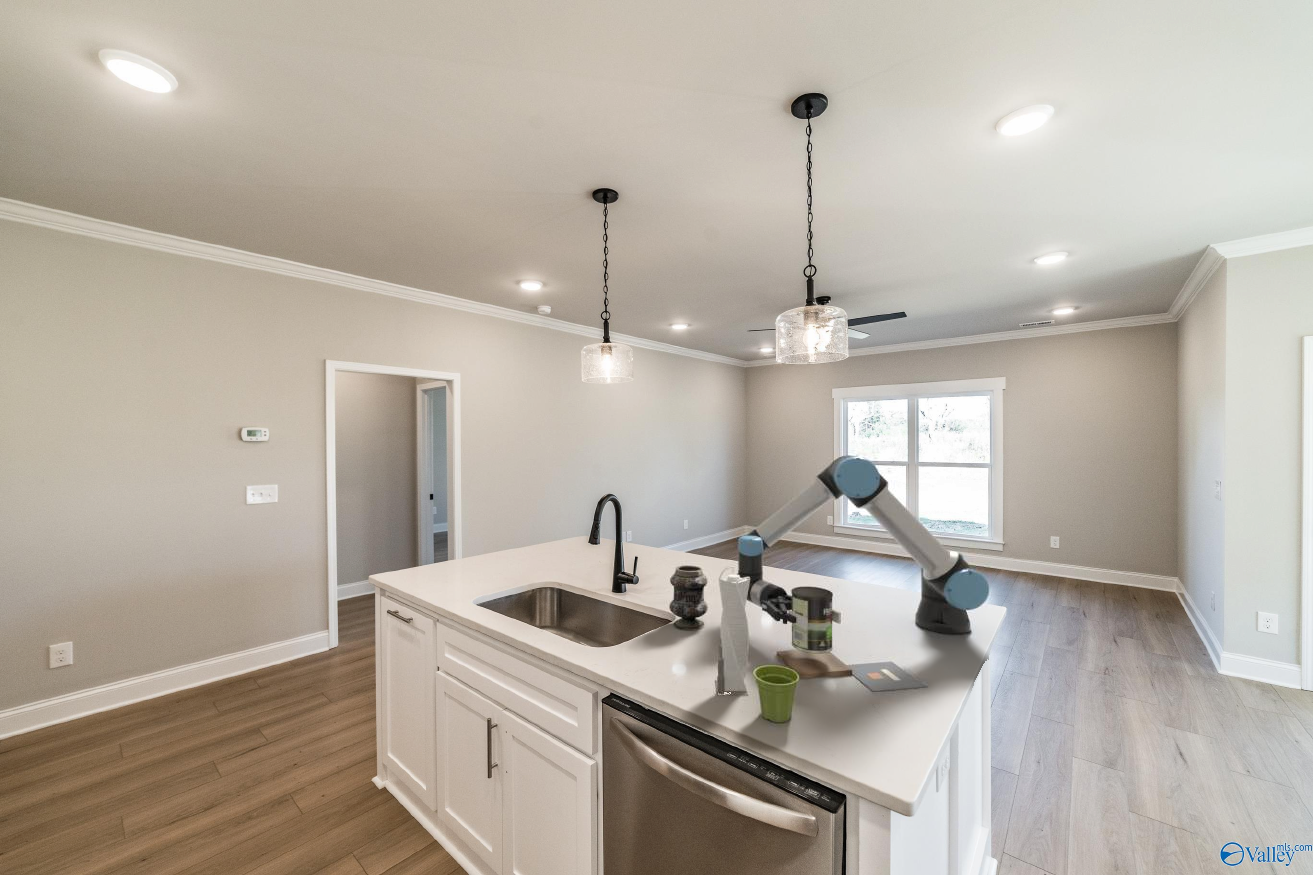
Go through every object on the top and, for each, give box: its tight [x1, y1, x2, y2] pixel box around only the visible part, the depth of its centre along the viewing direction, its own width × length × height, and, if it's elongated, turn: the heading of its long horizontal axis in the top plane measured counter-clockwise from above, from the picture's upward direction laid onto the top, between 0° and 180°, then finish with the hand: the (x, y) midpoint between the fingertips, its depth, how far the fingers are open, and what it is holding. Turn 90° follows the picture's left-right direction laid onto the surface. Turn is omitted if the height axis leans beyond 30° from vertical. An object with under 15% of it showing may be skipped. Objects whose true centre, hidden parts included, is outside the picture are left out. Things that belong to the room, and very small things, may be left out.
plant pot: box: [752, 664, 800, 723], centre depth 110 cm, size 9×9×9 cm
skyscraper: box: [714, 565, 750, 696], centre depth 123 cm, size 8×8×28 cm
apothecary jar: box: [668, 564, 709, 631], centre depth 164 cm, size 12×12×18 cm
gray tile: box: [846, 661, 929, 693], centre depth 128 cm, size 14×14×1 cm
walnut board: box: [776, 649, 853, 680], centre depth 135 cm, size 14×14×1 cm
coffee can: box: [790, 586, 834, 654], centre depth 135 cm, size 10×10×14 cm
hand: (823, 621), depth 131 cm, fingers closed on coffee can, 10 cm apart
